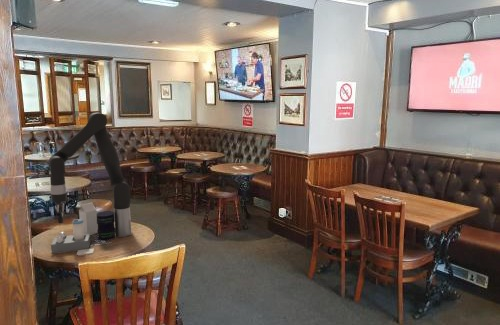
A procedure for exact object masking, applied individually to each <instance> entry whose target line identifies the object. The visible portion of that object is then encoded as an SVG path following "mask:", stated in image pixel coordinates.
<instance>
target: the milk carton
mask: <svg viewBox="0 0 500 325" xmlns="http://www.w3.org/2000/svg"><path fill="white" fill-rule="evenodd" d="M97 213H98V212H97V208H96V207H95V205H94V202H93V201H92V202H88V203H83V204H81V207H80V208H79V210H78V216H79V219H83V221H84V222H83V227H84V234H89V233H90V236H91V235H95V234H98V232H97V230H98V224H97V215H96V214H97Z"/></svg>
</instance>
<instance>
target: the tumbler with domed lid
mask: <svg viewBox="0 0 500 325" xmlns="http://www.w3.org/2000/svg"><path fill="white" fill-rule="evenodd" d="M83 222H84V221H83V219H80V218H79V219H78V218H76V219H73V220H72V222H71V223H72V229H73V230H72V231H73V235H74V240H83V239H84V227H83Z"/></svg>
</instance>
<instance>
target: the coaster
mask: <svg viewBox="0 0 500 325" xmlns="http://www.w3.org/2000/svg"><path fill="white" fill-rule="evenodd" d="M94 252H95V248H89V249H84V250H78V251H77V252H76V256H77V255H78V256H84V255H85V254H86V255H93V254H94Z"/></svg>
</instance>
